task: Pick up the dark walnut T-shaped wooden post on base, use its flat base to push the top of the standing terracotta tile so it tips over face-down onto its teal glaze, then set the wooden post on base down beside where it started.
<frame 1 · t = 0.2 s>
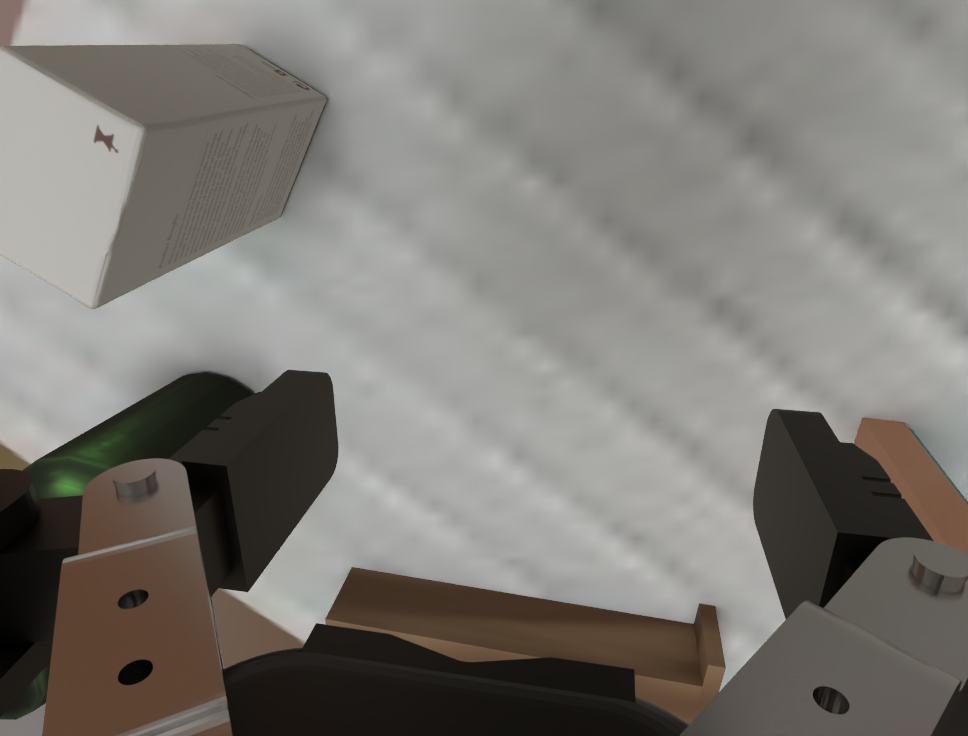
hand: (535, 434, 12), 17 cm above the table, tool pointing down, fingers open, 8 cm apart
wooden post on base: (522, 614, 38), on the table
skincare box: (263, 135, 29), on the table
potion bottle: (222, 423, 36), on the table
tile: (860, 495, 31), on the table
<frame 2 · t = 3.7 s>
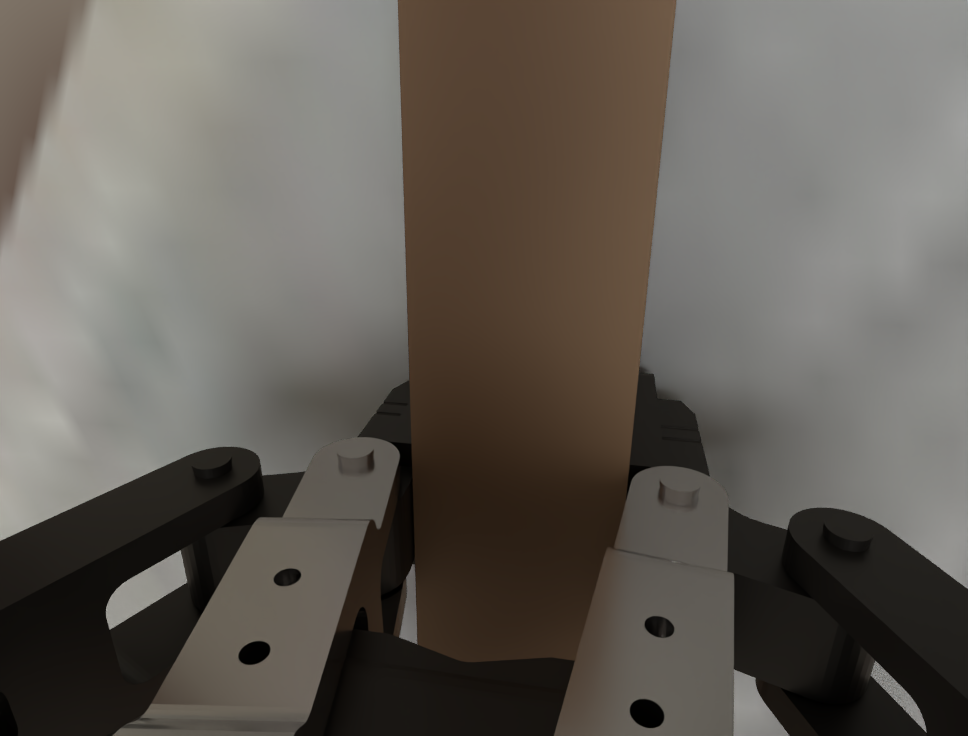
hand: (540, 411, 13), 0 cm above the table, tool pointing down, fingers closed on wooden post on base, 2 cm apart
wooden post on base: (538, 498, 14), on the table, touching gripper
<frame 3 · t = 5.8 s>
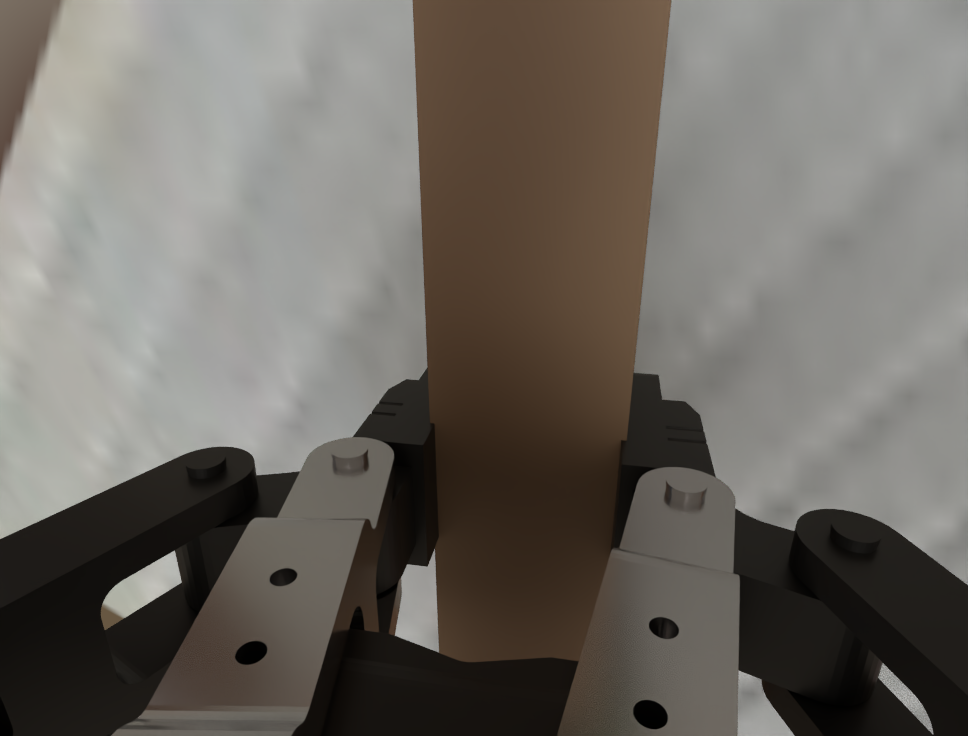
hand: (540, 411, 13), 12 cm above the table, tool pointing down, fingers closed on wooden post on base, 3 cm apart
wooden post on base: (544, 458, 15), point 10 cm above the table, touching gripper
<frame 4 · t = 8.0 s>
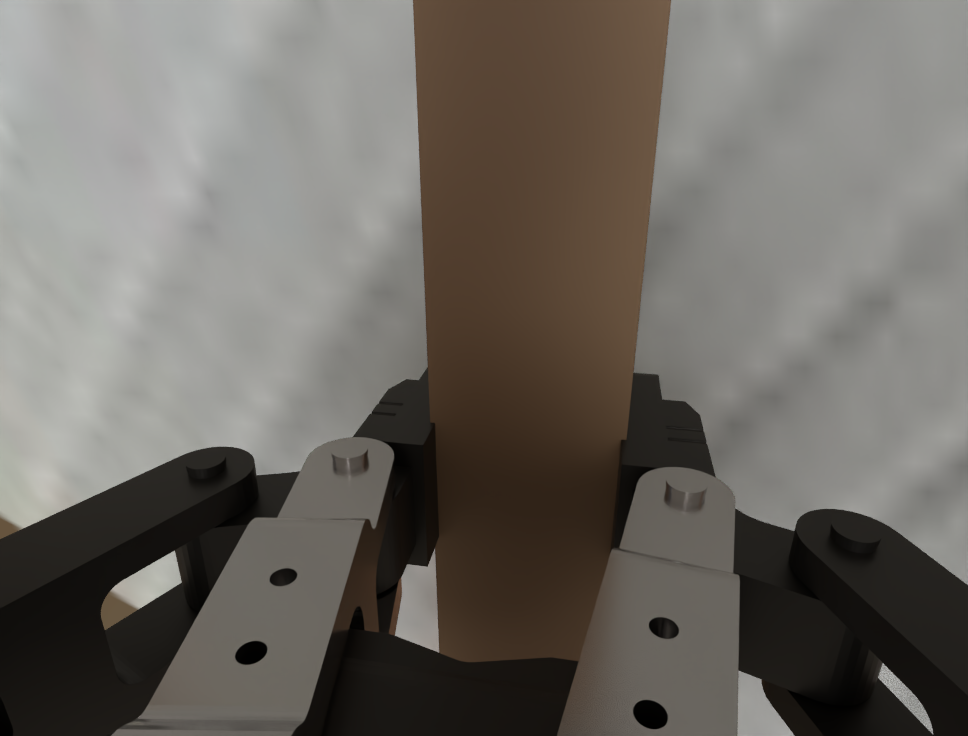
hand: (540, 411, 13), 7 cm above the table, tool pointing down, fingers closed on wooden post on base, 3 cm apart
wooden post on base: (544, 457, 15), point 6 cm above the table, touching gripper
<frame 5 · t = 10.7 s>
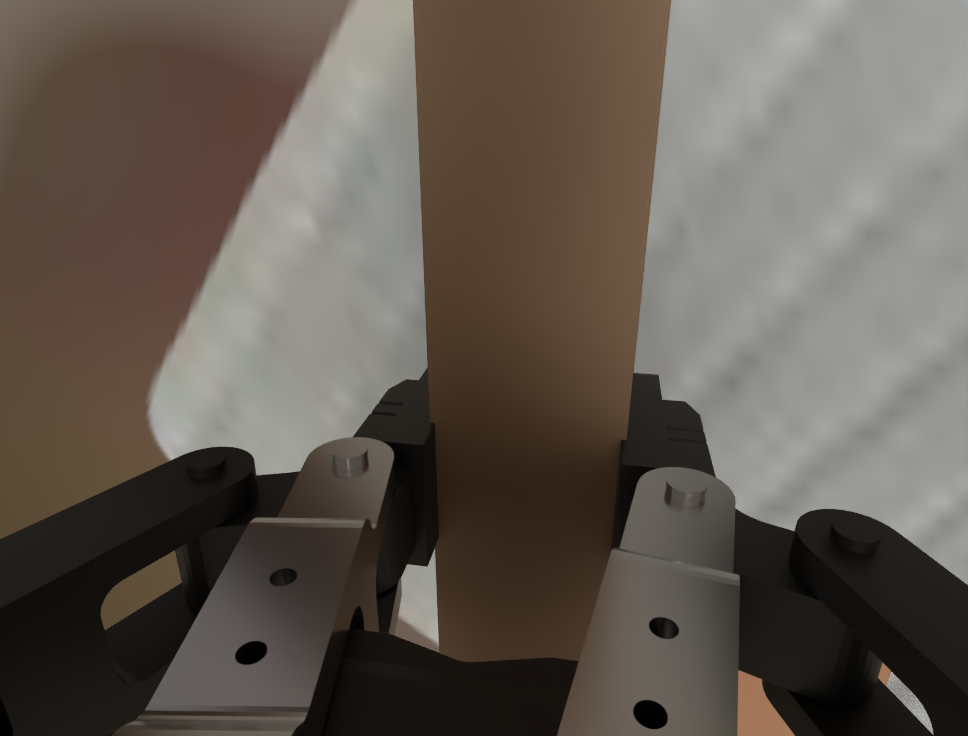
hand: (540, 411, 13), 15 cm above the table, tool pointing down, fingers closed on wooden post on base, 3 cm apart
wooden post on base: (544, 459, 15), point 14 cm above the table, touching gripper
tile: (802, 602, 31), on the table, tilted 90°
when the fingers open (2 cm above the table, at t = 13.3 s): wooden post on base stays where it is, on the table.
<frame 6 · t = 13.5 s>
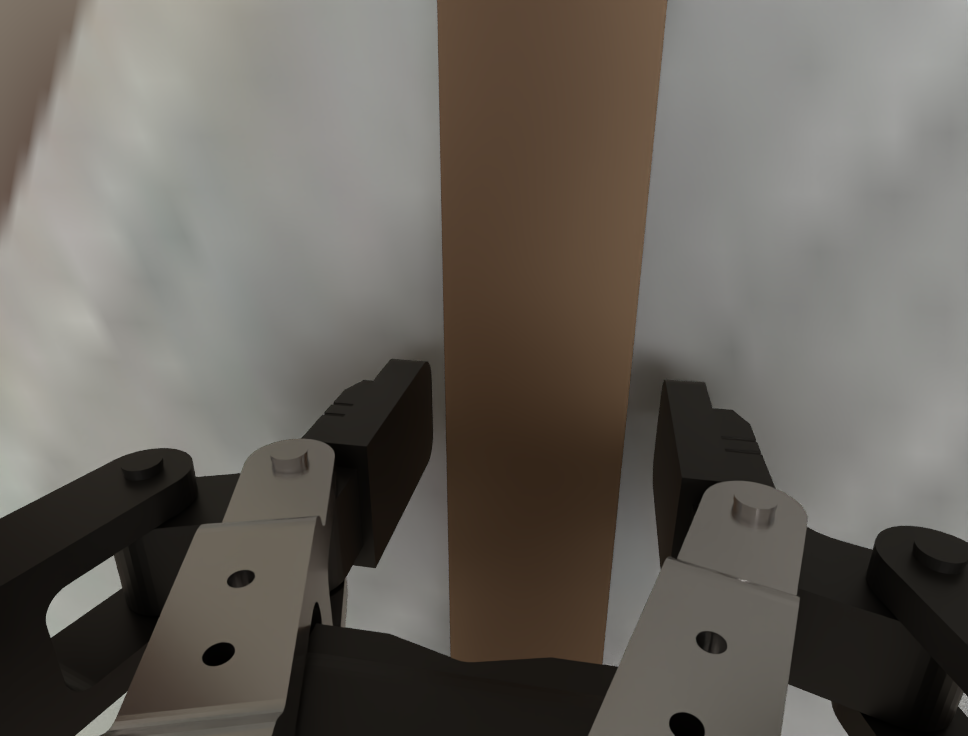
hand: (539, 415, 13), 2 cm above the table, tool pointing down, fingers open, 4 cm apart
wooden post on base: (548, 438, 16), on the table
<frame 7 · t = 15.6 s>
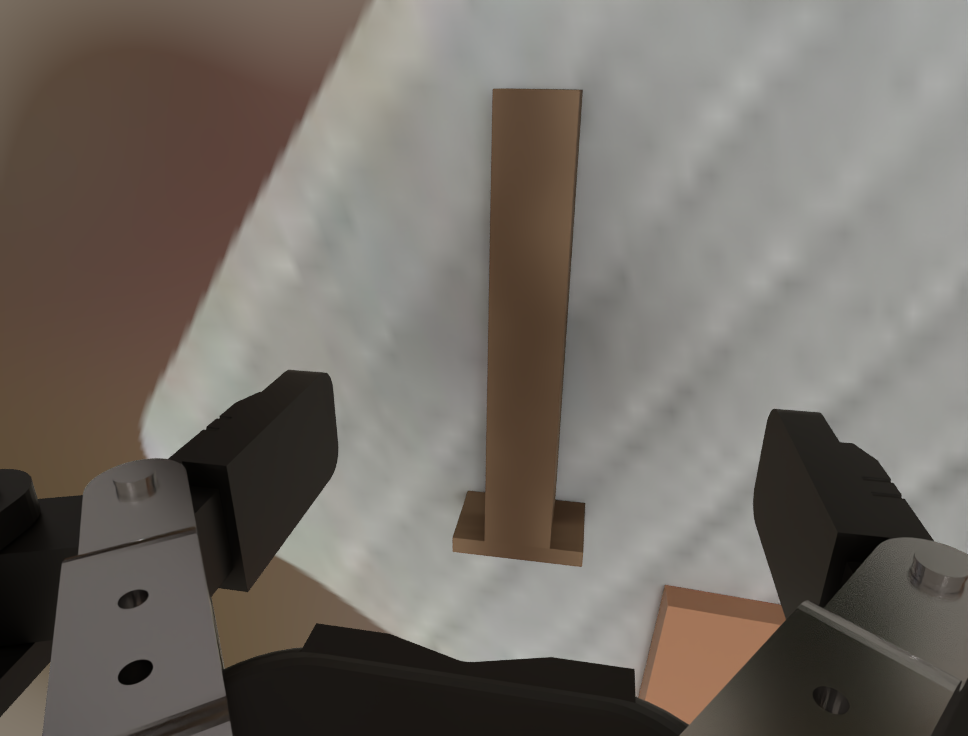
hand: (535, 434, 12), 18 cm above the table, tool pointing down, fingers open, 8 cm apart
wooden post on base: (533, 326, 30), on the table
tile: (746, 605, 34), on the table, tilted 90°
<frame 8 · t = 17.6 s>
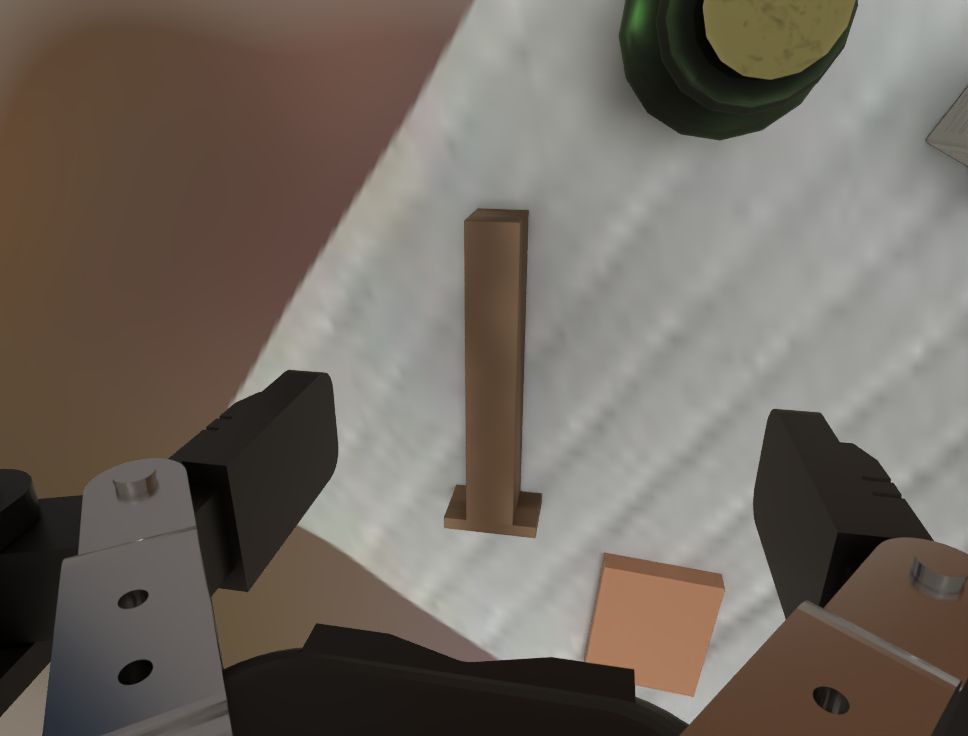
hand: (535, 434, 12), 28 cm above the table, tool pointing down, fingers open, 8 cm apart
wooden post on base: (500, 366, 43), on the table
potion bottle: (698, 42, 34), on the table
tile: (662, 568, 46), on the table, tilted 90°
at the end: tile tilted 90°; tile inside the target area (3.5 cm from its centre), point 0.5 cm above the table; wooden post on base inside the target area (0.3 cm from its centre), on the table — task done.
